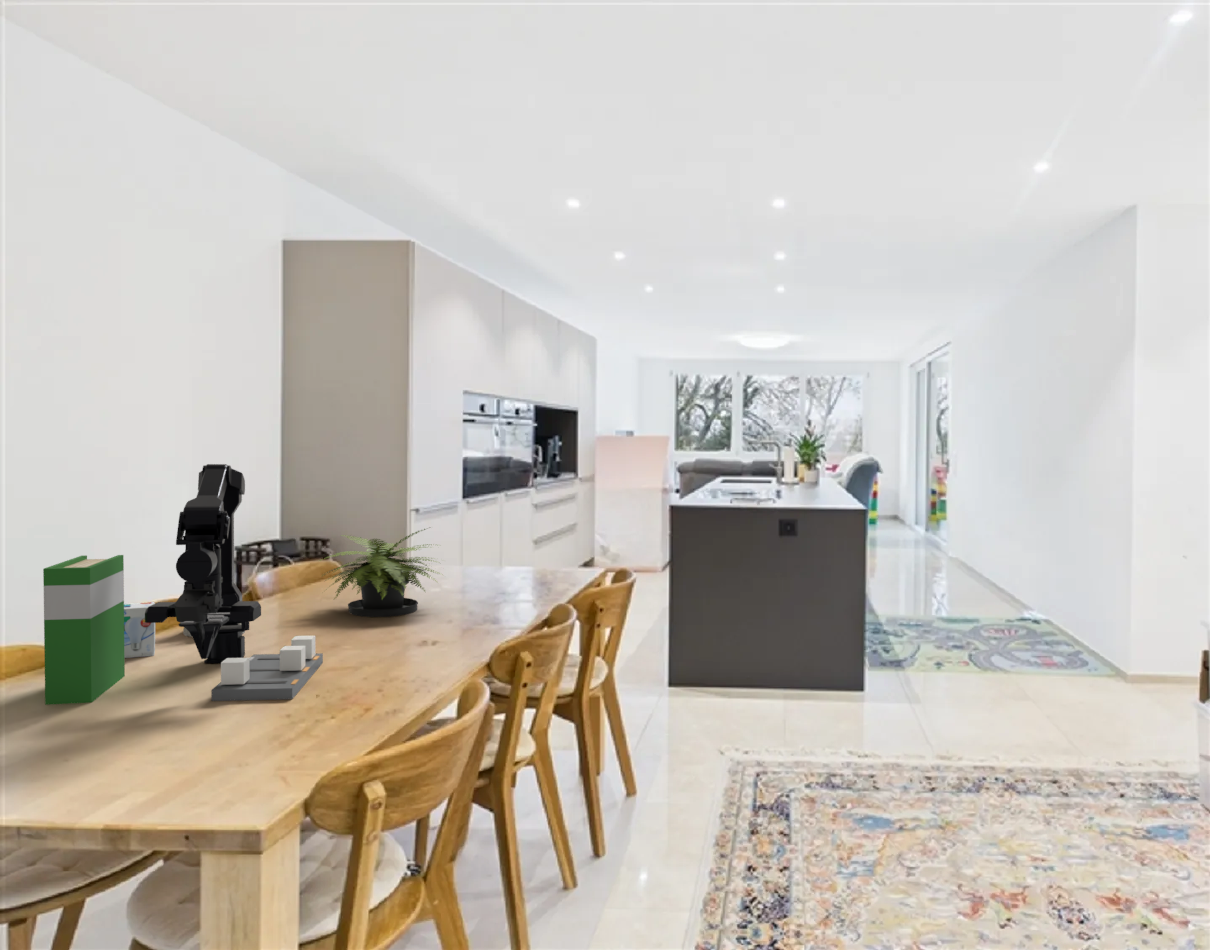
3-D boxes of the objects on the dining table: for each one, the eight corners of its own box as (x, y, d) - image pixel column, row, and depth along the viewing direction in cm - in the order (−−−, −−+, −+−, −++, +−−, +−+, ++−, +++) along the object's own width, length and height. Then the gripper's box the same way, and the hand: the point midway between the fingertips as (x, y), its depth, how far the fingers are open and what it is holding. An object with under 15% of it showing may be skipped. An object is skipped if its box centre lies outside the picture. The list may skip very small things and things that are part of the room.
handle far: (291, 659, 177) (291, 639, 177) (295, 654, 181) (295, 635, 181) (311, 658, 178) (311, 639, 178) (315, 654, 181) (315, 635, 181)
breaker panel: (211, 700, 156) (211, 689, 156) (253, 663, 182) (253, 653, 182) (292, 699, 158) (292, 687, 158) (322, 662, 184) (322, 652, 184)
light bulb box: (98, 661, 183) (98, 610, 183) (100, 654, 189) (99, 604, 189) (155, 655, 188) (155, 606, 188) (155, 649, 194) (155, 600, 194)
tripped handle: (220, 684, 158) (220, 662, 158) (227, 679, 162) (226, 657, 162) (243, 684, 159) (243, 662, 159) (249, 678, 162) (249, 657, 162)
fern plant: (475, 615, 235) (475, 526, 234) (329, 630, 214) (329, 533, 213) (425, 594, 266) (426, 515, 265) (294, 606, 246) (294, 520, 245)
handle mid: (279, 670, 168) (279, 650, 168) (284, 666, 172) (284, 645, 172) (301, 670, 169) (301, 649, 169) (305, 665, 172) (305, 645, 172)
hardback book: (83, 677, 170) (81, 555, 170) (124, 676, 172) (123, 554, 171) (45, 704, 153) (43, 568, 152) (91, 702, 155) (90, 567, 154)
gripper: (131, 581, 150) (132, 671, 151) (243, 580, 152) (244, 669, 153) (157, 571, 161) (157, 655, 162) (261, 570, 163) (262, 653, 164)
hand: (204, 658), depth 160 cm, fingers closed
